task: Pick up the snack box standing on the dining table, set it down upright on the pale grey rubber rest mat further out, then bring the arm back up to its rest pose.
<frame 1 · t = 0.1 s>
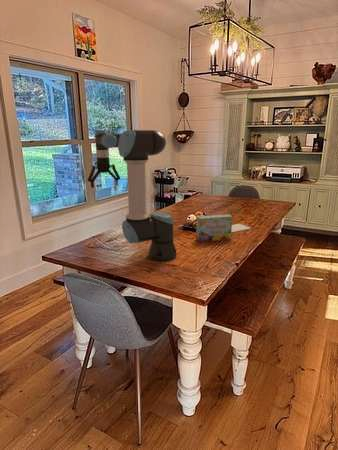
hand: (105, 191, 196), 28 cm above the table, fingers open, 13 cm apart
snack box: (213, 239, 195), on the table
rest mat: (231, 229, 214), on the table
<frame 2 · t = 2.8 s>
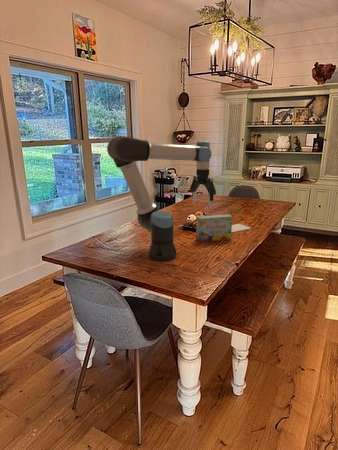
hand: (202, 204, 190), 22 cm above the table, fingers open, 13 cm apart
nothing on the table moved.
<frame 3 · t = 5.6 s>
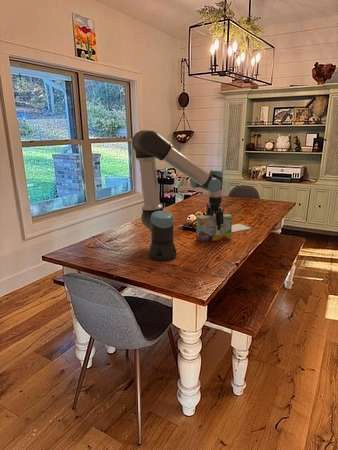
hand: (214, 233, 194), 4 cm above the table, fingers closed on snack box, 6 cm apart
snack box: (213, 239, 195), on the table, touching gripper
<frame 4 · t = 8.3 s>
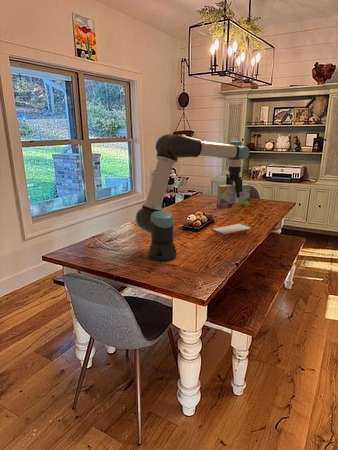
hand: (233, 201, 208), 20 cm above the table, fingers closed on snack box, 6 cm apart
snack box: (232, 207, 209), point 15 cm above the table, touching gripper
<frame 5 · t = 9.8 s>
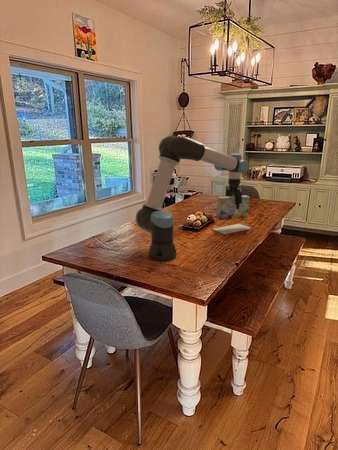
hand: (232, 212, 211), 12 cm above the table, fingers closed on snack box, 6 cm apart
snack box: (232, 218, 212), point 7 cm above the table, touching gripper
when the fingers open (6 cm above the table, at t = 11.2 s): snack box drops 1 cm, resting on rest mat.
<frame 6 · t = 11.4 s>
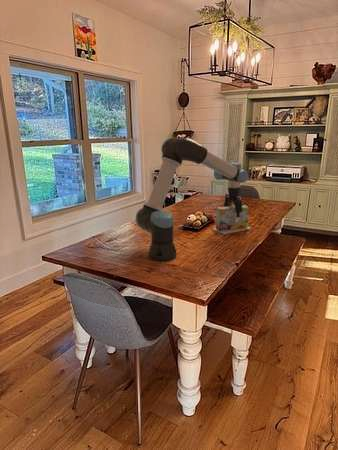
hand: (232, 220, 212), 6 cm above the table, fingers open, 8 cm apart
snack box: (231, 228, 214), resting on rest mat
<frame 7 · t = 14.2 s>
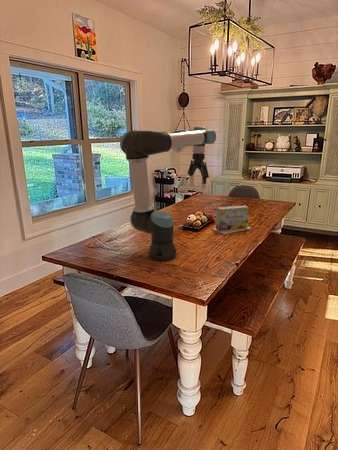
hand: (197, 187, 200), 30 cm above the table, fingers open, 13 cm apart
nothing on the table moved.
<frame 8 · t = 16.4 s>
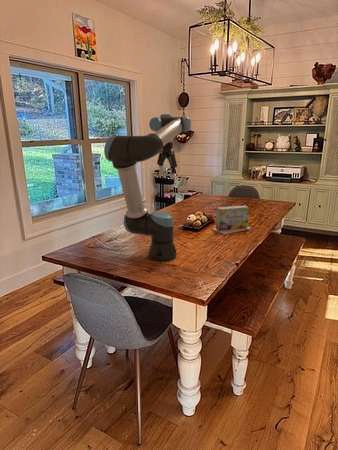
hand: (166, 177, 194), 37 cm above the table, fingers open, 13 cm apart
nothing on the table moved.
at the end: snack box inside the target area on the rest mat (0.2 cm from its centre), point 0.4 cm above the rest mat's base; snack box tilted 0°; the gripper is holding nothing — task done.
